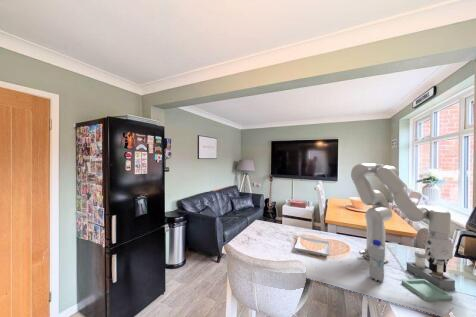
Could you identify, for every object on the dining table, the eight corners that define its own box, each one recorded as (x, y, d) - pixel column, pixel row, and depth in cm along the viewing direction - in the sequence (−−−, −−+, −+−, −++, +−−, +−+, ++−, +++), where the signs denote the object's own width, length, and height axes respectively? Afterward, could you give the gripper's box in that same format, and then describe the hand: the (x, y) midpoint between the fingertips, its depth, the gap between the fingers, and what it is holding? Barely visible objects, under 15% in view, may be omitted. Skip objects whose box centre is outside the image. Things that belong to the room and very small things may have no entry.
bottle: (365, 275, 103) (365, 237, 103) (377, 274, 103) (377, 237, 103) (375, 283, 96) (376, 243, 96) (388, 282, 96) (388, 242, 96)
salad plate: (298, 240, 146) (298, 235, 146) (329, 246, 137) (329, 241, 137) (293, 252, 127) (294, 247, 127) (329, 260, 118) (329, 254, 118)
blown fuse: (437, 284, 94) (438, 261, 94) (428, 278, 98) (428, 257, 98) (446, 284, 94) (446, 261, 94) (436, 278, 99) (436, 257, 99)
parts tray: (426, 301, 84) (426, 296, 84) (401, 283, 96) (401, 279, 96) (452, 299, 85) (452, 295, 85) (424, 282, 97) (424, 278, 97)
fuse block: (454, 288, 92) (455, 280, 92) (439, 289, 92) (439, 281, 92) (419, 269, 109) (420, 261, 109) (406, 269, 108) (406, 262, 108)
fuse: (420, 275, 103) (420, 255, 103) (412, 271, 107) (412, 251, 107) (428, 275, 103) (428, 255, 103) (419, 270, 107) (419, 251, 107)
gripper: (431, 237, 92) (429, 276, 92) (463, 237, 93) (461, 275, 93) (415, 231, 99) (414, 266, 100) (445, 231, 100) (444, 266, 101)
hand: (437, 270), depth 96 cm, fingers closed on blown fuse, 4 cm apart
